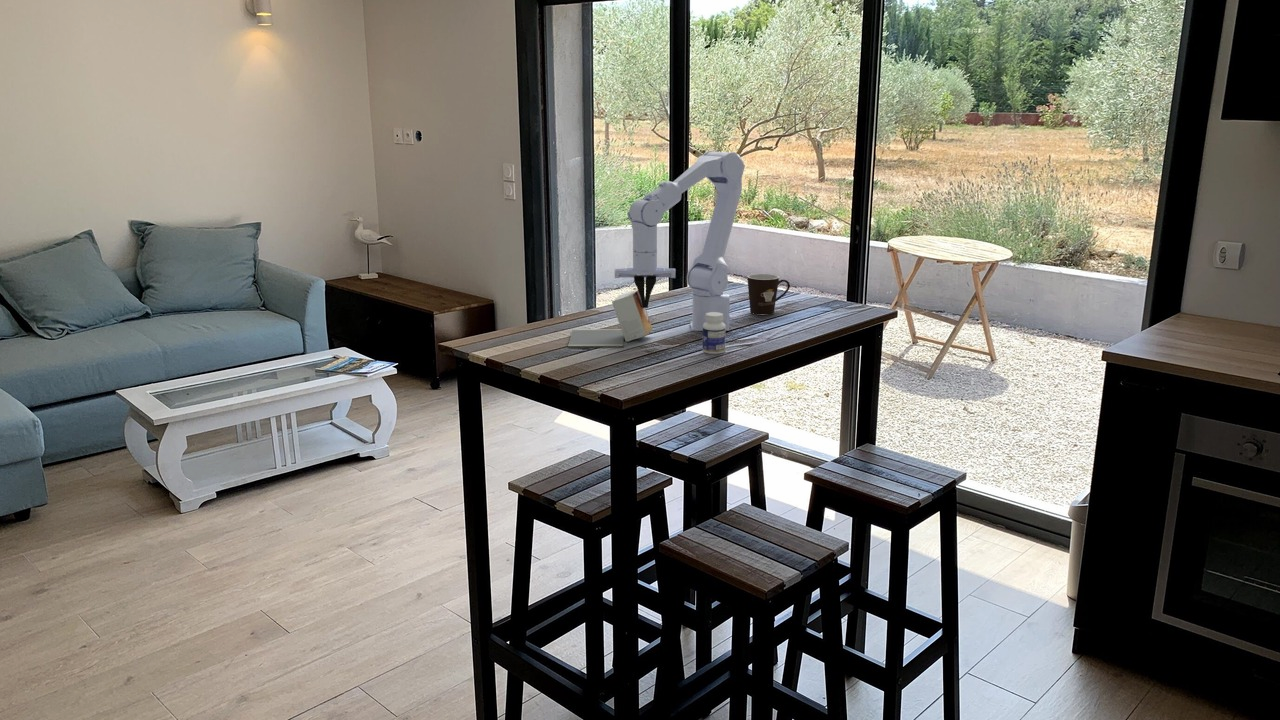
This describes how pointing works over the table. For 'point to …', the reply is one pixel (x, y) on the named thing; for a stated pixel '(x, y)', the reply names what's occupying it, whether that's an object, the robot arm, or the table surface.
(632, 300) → the small box
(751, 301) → the coffee mug
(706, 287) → the robot arm
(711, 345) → the pill bottle
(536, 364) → the table surface
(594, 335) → the mat
